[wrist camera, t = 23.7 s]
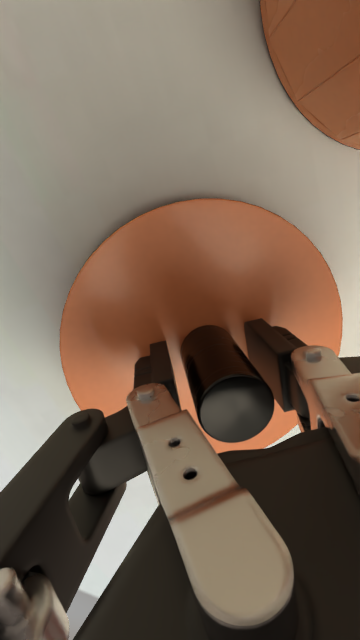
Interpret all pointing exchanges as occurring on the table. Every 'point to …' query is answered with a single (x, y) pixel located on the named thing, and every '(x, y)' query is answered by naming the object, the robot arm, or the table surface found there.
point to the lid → (197, 313)
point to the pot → (318, 61)
